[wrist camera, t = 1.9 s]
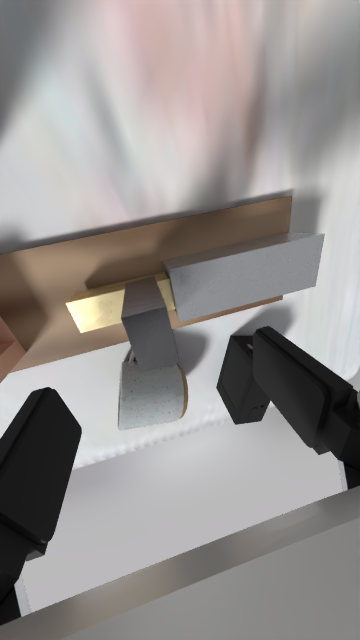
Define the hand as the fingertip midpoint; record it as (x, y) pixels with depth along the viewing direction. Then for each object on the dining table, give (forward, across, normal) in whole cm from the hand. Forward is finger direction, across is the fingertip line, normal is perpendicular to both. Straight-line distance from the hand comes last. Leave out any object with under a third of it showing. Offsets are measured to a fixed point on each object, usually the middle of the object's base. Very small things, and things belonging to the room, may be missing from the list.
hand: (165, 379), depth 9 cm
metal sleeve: (+14, -9, -1) cm, 17 cm away
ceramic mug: (+15, +3, +10) cm, 19 cm away
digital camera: (+15, -11, +15) cm, 24 cm away
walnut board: (+15, +1, -1) cm, 15 cm away
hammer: (+13, -4, -1) cm, 13 cm away
